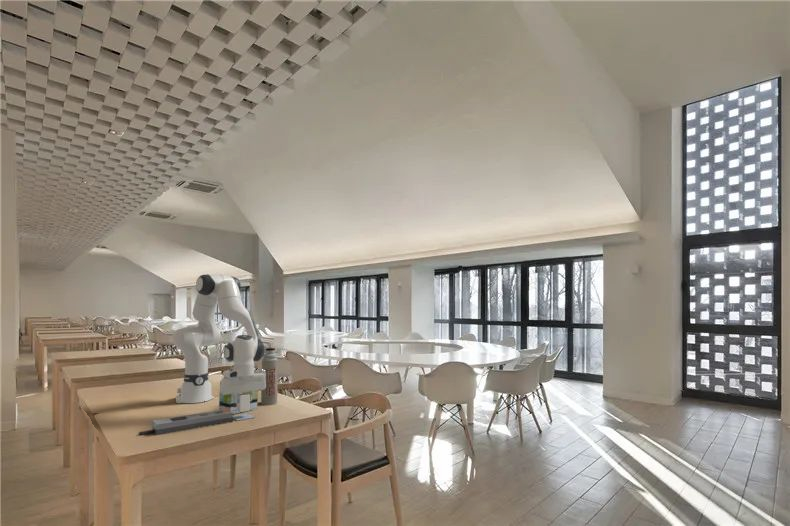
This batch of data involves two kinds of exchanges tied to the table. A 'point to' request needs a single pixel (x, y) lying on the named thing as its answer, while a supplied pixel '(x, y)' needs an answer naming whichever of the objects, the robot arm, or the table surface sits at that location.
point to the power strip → (189, 421)
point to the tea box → (229, 403)
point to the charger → (243, 402)
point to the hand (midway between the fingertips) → (243, 402)
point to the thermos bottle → (270, 377)
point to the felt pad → (243, 417)
